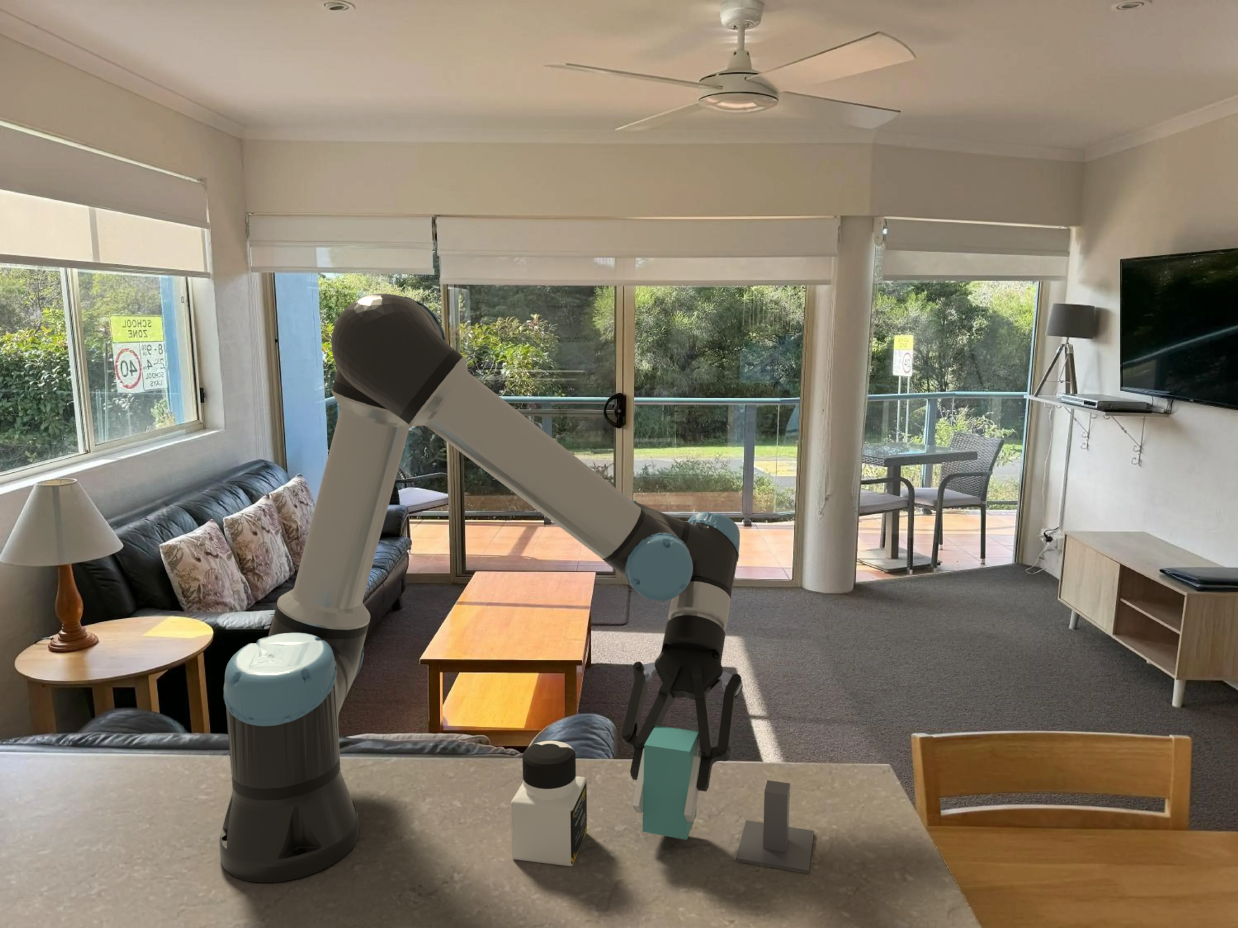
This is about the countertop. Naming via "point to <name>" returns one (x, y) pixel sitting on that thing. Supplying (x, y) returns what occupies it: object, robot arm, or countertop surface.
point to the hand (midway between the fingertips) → (663, 813)
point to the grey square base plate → (776, 835)
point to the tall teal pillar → (668, 780)
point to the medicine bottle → (549, 806)
